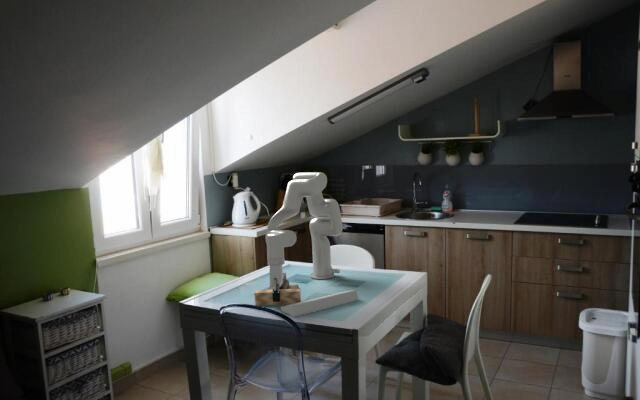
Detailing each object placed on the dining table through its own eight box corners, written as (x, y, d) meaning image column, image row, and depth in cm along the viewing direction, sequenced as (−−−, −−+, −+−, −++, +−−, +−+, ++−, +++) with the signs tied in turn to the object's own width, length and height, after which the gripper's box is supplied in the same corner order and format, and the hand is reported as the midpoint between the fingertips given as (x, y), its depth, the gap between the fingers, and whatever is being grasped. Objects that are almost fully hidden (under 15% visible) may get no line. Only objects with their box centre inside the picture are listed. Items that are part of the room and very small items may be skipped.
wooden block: (300, 301, 235) (300, 288, 234) (300, 304, 231) (299, 291, 230) (256, 302, 236) (256, 290, 235) (255, 305, 231) (254, 292, 231)
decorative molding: (282, 318, 221) (293, 317, 213) (280, 307, 222) (291, 306, 214) (345, 301, 240) (358, 300, 232) (343, 291, 241) (356, 290, 233)
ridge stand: (298, 287, 257) (297, 271, 256) (295, 297, 241) (294, 280, 240) (270, 288, 257) (269, 272, 256) (265, 298, 241) (264, 281, 240)
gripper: (270, 256, 240) (272, 292, 242) (264, 265, 222) (266, 304, 224) (286, 256, 239) (288, 292, 241) (282, 265, 222) (284, 304, 224)
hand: (277, 298), depth 233 cm, fingers open, 9 cm apart
